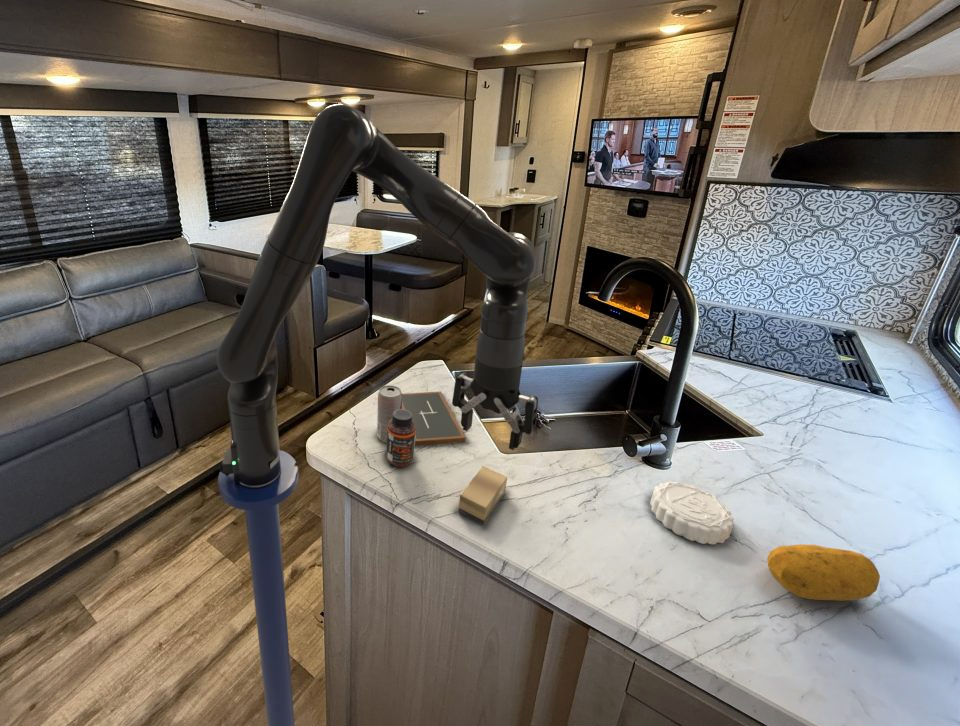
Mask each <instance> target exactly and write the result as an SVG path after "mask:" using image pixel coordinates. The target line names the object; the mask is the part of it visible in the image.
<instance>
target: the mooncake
mask: <svg viewBox="0 0 960 726" xmlns="http://www.w3.org/2000/svg"><path fill="white" fill-rule="evenodd" d="M649 504H650V506H651V512H652V513H653V514H654V515H655V518H656V519H657V520H658V521H659V522H660V523H662V524H663V526H664V527H665V528H667V529H669V530H672V532H673V533H674V534H675V535H678V536H680V537H684V538H685V539H687V540H688V541H692V542H694V541H696V542H697V543H699V544H702V545H705V544H709V545H717V544H718V543H719V544H722V543H725V540H727V539H729V537H730V535H731V532H732V530H733V528H734V521H735V520H734V517H733V516H732V512H731V510H729V509H728V508H727V507H726V505H725V504H724V502H722V501H721V500H718V498H717V497H716V496H715V495H713V494H711V493H708V492H707V491H706V490H705V489H702V488H699V487H696V486H694V485H692V484H685V483H683V482H682V481H681V482H680V481H676V482H673V481H667V482H661V483H659V485H656V486H655V487H654V490H653V492H652V496H651V499H650V503H649Z"/></svg>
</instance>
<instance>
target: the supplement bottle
mask: <svg viewBox="0 0 960 726" xmlns="http://www.w3.org/2000/svg"><path fill="white" fill-rule="evenodd" d="M415 433H416V425H415V423H414V422H413V420H412V414H411V412H409V411H408V410H405V409H398V410H395V411H394V412H393V417H392V419H391V420H390V421H389V422H388V426H387V443H386V449H385V458H386V461H387V462H388V463H389V464H391V465H392V466H395V467H399V468H401V467H402V468H403V467H408V466H410V465H411V464H412V463H413V462H414V458H415V457H414V456H415V448H416V446H415Z"/></svg>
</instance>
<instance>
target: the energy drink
mask: <svg viewBox="0 0 960 726" xmlns="http://www.w3.org/2000/svg"><path fill="white" fill-rule="evenodd" d="M402 394H403V393H402V390H401V388H399V387H398V386H396V385H391V384H389V385H384V386H381V387H380V388H379V390H378V392H377V416H376V417H377V418H376V419H377V421H376V437H377V438H378V440H380V442H383V443H385V444H387V426H388V422H389V421H390V420H391V419H392V417H393V412H394V411H395V410H398V409H402Z"/></svg>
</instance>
